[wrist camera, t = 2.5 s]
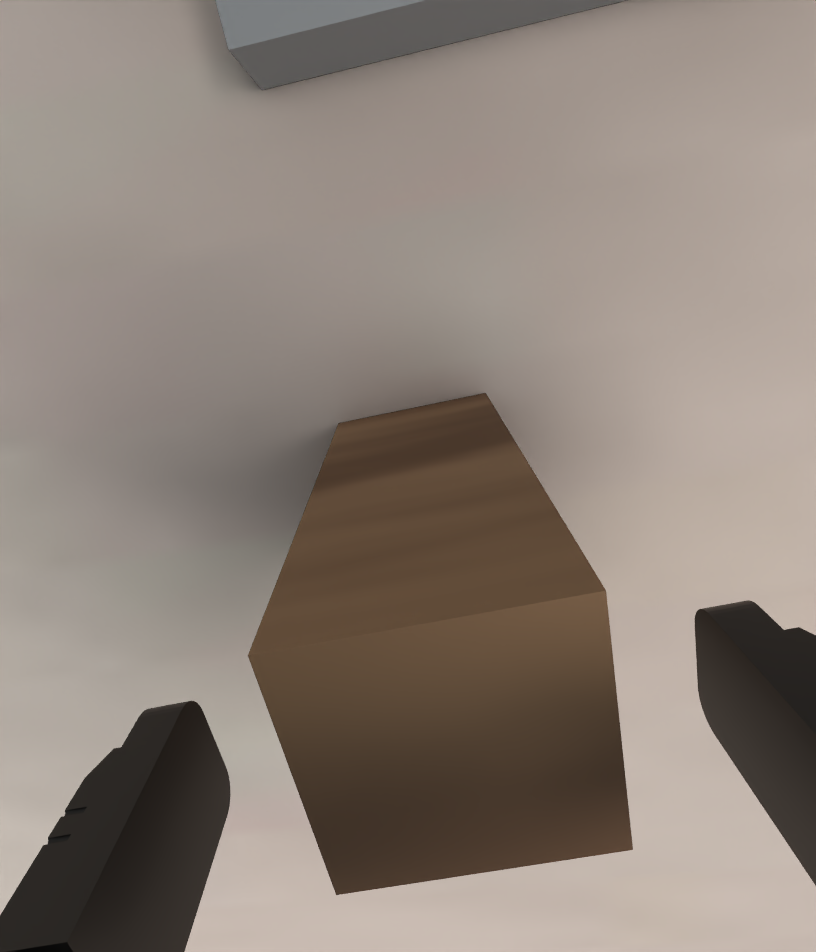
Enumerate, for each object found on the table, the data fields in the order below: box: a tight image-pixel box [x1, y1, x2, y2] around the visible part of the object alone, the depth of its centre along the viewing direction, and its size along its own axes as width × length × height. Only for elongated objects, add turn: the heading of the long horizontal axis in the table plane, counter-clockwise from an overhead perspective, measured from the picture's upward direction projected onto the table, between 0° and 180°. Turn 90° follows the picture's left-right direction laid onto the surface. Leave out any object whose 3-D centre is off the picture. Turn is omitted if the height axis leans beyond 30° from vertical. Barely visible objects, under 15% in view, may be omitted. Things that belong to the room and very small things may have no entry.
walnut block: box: [248, 393, 633, 895], centre depth 13 cm, size 4×4×11 cm
